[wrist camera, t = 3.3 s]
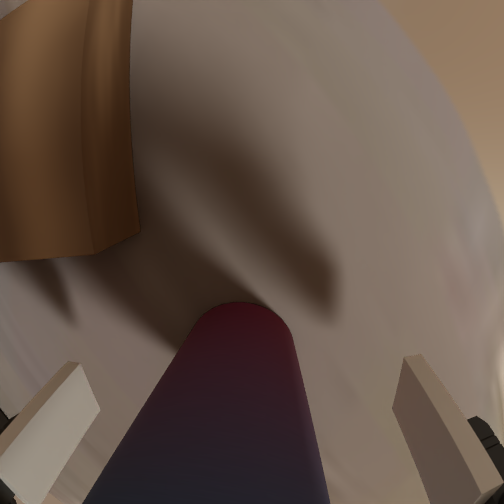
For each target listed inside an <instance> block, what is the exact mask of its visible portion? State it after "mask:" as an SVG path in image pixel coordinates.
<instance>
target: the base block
mask: <svg viewBox="0 0 504 504" xmlns="http://www.w3.org/2000/svg"><path fill="white" fill-rule="evenodd" d="M132 5H133V0H28V1H27V2H25V3H24V4H22V5H21V6H19V7H18V8H16V9H15V10H13V11H12V12H11V13H9V14H8V15H6V16H5V17H4V18H2V19H1V20H0V262H11V261H23V260H35V259H47V258H59V257H71V256H84V255H95V254H97V253H99V252H101V251H103V250H105V249H107V248H109V247H111V246H113V245H115V244H117V243H119V242H121V241H123V240H125V239H127V238H129V237H131V236H133V235H135V234H137V233H139V232H141V230H140V223H139V215H138V207H137V199H136V190H135V180H134V169H133V157H132V142H131V124H130V88H129V68H130V34H131V17H132Z"/></svg>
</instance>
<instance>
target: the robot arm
mask: <svg viewBox="0 0 504 504" xmlns="http://www.w3.org/2000/svg"><path fill="white" fill-rule="evenodd" d="M392 409H393V412H394V414H395V416H396V419H397V421H398V423H399V425H400V428H401V430H402V432H403V435H404V437H405V440H406V442H407V444H408V447H409V449H410V452H411V454H412V457H413V459H414V461H415V464H416V466H417V469H418V472H419V474H420V477H421V479H422V482H423V484H424V487H425V490H426V492H427V495H428V498H429V501H430V503H431V504H504V447H503V446H502V444H500V441H499V440H498V438H497V437H496V436H495V435H494V432H493V431H492V429H491V428H490V426H489V425H488V423H486V422H485V421H483V420H482V419H480V418H479V417H478V416H475V417H473V418H470V419H468V420H466V418H465V417H464V415H463V413H462V412H461V410H460V409H459V407H458V406H457V404H456V403H455V401H454V400H453V398H452V397H451V396H450V394H449V393H448V391H447V390H446V388H445V387H444V385H443V384H442V383H441V381H440V380H439V378H438V377H437V375H436V374H435V373H434V371H433V370H432V368H431V367H430V366H429V364H428V363H427V361H426V360H425V359H424V357H423V356H422V355H421V354H418V355H413V356H408V357H404V359H403V364H402V369H401V374H400V378H399V383H398V387H397V391H396V395H395V399H394V403H393V407H392ZM99 411H100V408H99V406H98V403H97V401H96V399H95V397H94V395H93V392H92V390H91V388H90V385H89V383H88V381H87V378H86V376H85V373H84V371H83V368H82V366H81V363H76V362H69V361H68V362H67V363H66V364H65V365H64V366H63V367H62V368H61V369H60V370H59V371H58V372H57V373H56V374H55V375H54V376H53V377H52V378H51V379H50V381H49V382H48V383H47V384H46V385H45V386H44V387H43V388H42V389H41V390H40V391H39V392H38V393H37V394H36V396H35V397H34V398H33V399H32V400H31V401H30V402H29V403H28V404H27V405H26V406H25V408H24V409H23V410H22V411H21V412H20V413H19V414H17V415H15V416H14V417H12V418H11V419H9V420H7V418H6V417H5V416H4V414H3V413H2V412H1V411H0V504H17V503H16V500H15V499H14V498H13V497H14V496H15V495H16V496H17V497H18V498H19V499H20V500H21V501H22V502H23V503H25V504H42V502H43V500H44V499H45V497H46V495H47V494H48V492H49V490H50V489H51V487H52V485H53V484H54V482H55V480H56V479H57V477H58V475H59V474H60V472H61V471H62V469H63V467H64V466H65V464H66V463H67V461H68V459H69V458H70V456H71V455H72V453H73V451H74V450H75V448H76V447H77V445H78V444H79V442H80V440H81V439H82V437H83V436H84V434H85V433H86V431H87V430H88V428H89V427H90V425H91V423H92V422H93V420H94V419H95V417H96V416H97V414H98V413H99Z"/></svg>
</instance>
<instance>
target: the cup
mask: <svg viewBox="0 0 504 504" xmlns="http://www.w3.org/2000/svg"><path fill="white" fill-rule="evenodd" d="M82 504H330V500H329V495H328V490H327V485H326V481H325V476H324V472H323V467H322V462H321V458H320V453H319V449H318V444H317V440H316V435H315V431H314V427H313V422H312V418H311V413H310V409H309V405H308V400H307V396H306V392H305V388H304V383H303V379H302V375H301V371H300V366H299V362H298V358H297V354H296V350H295V346H294V342H293V337H292V334H291V332H290V330H289V328H288V327H287V325H286V324H285V323H284V321H283V320H282V319H281V318H280V317H278V316H277V315H276V314H275V313H273V312H272V311H270V310H268V309H266V308H264V307H261V306H259V305H256V304H251V303H245V302H232V303H227V304H222V305H220V306H217V307H215V308H212V309H211V310H209V311H208V312H206V313H205V314H204V315H203V316H202V317H201V318H200V319H199V320H198V321H197V323H196V324H195V326H194V327H193V329H192V331H191V332H190V334H189V335H188V337H187V338H186V340H185V341H184V343H183V345H182V346H181V348H180V349H179V351H178V352H177V354H176V355H175V357H174V359H173V360H172V362H171V363H170V365H169V366H168V368H167V370H166V371H165V373H164V374H163V376H162V377H161V379H160V381H159V382H158V384H157V385H156V387H155V388H154V390H153V392H152V393H151V395H150V396H149V398H148V399H147V401H146V403H145V404H144V406H143V407H142V409H141V411H140V412H139V414H138V415H137V417H136V418H135V420H134V422H133V423H132V425H131V426H130V428H129V430H128V431H127V433H126V434H125V436H124V437H123V439H122V441H121V442H120V444H119V445H118V447H117V449H116V450H115V452H114V453H113V455H112V457H111V458H110V460H109V461H108V463H107V465H106V466H105V468H104V469H103V471H102V473H101V474H100V476H99V477H98V479H97V481H96V482H95V484H94V486H93V487H92V489H91V490H90V492H89V494H88V495H87V497H86V498H85V500H84V502H83V503H82Z"/></svg>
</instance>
